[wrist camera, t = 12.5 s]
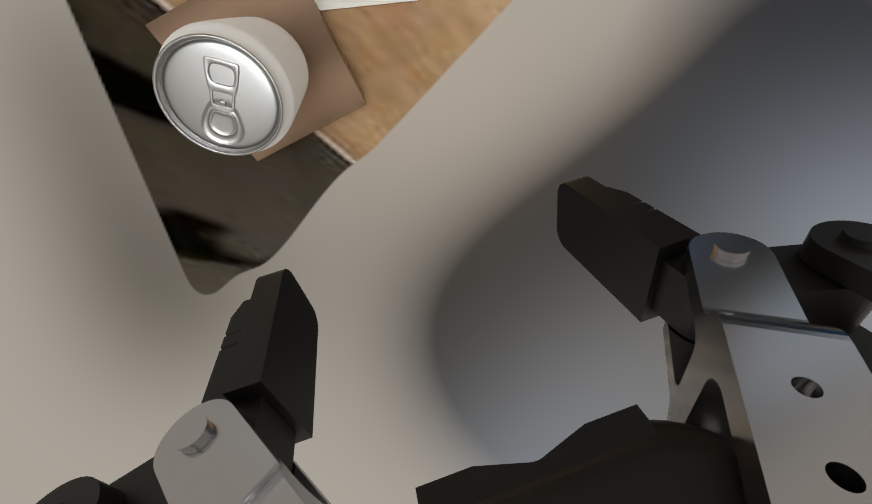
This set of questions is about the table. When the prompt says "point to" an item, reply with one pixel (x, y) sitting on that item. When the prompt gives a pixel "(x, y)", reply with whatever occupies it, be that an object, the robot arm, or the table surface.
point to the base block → (327, 68)
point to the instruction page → (351, 3)
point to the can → (231, 83)
